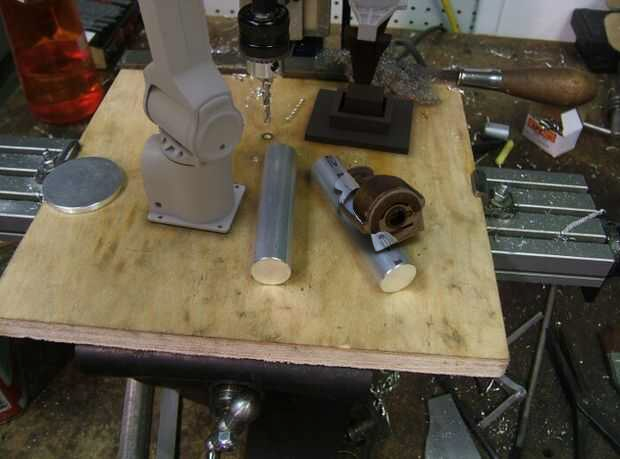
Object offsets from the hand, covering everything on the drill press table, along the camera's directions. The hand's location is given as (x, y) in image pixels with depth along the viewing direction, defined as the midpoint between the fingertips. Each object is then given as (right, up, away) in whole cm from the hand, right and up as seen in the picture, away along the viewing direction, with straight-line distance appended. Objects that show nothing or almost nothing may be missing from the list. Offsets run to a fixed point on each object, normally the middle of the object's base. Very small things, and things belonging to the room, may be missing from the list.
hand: (365, 68), depth 73 cm
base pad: (0, -6, +6) cm, 9 cm away
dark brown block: (0, -5, +5) cm, 8 cm away
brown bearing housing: (0, -19, -7) cm, 21 cm away
